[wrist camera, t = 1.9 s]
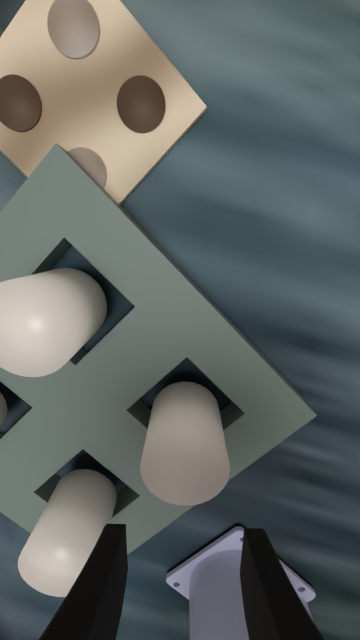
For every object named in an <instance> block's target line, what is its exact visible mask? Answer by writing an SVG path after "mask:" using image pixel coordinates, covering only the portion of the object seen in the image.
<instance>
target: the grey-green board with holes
mask: <svg viewBox="0 0 360 640" xmlns="http://www.w3.org/2000/svg"><path fill="white" fill-rule="evenodd" d="M71 245H73V246H74V247H75V248H76V249H77V250H78V251H79V252H80V253H81V254H82V255H83V256H84V257H85V258H86V259H87V260H88V261H89V262H90V263H91V264H92V265H93V266H94V267H95V268H96V269H97V270H98V271H99V272H100V273H101V274H102V275H103V276H104V277H105V278H106V279H108V280H109V281H110V282H111V283H112V284H113V285H114V286H115V287H116V288H117V289H118V290H119V291H120V292H121V293H122V294H123V295H124V296H125V297H126V298H127V299H128V300H129V301H130V302H131V303H132V304H133V305H134V307H133V308H132V309H131V310H130V311H129V312H128V313H127V314H126V315H125V316H124V317H123V318H122V319H121V320H120V321H118V322H117V323H116V324H115V325H114V326H113V327H112V328H111V329H110V330H109V331H108V332H107V333H106V334H105V335H104V336H103V337H102V338H101V339H100V340H99V341H98V342H97V343H96V344H95V345H94V346H93V347H92V348H91V349H90V350H89V351H88V352H86V351H85V350H84V349H83V348H82V347H81V348H80V349H79V351H78V352H77V353H76V354H75V355H74V356H73V357H72V358H71V359H70V360H69V361H68V362H67V363H66V364H65V365H64V366H63V367H61V368H60V369H59V370H57V371H56V372H54V373H51V374H49V375H46V376H41V377H24V376H19V375H16V374H13V373H10V372H8V371H6V370H4V369H3V368H1V367H0V381H1V382H2V383H3V384H4V385H5V386H7V387H8V388H9V389H10V390H11V391H13V392H14V393H15V394H16V395H18V396H19V397H20V398H21V399H22V400H24V401H25V402H26V403H27V404H29V405H30V406H31V408H30V409H29V410H28V411H27V412H26V413H25V414H24V415H23V416H22V417H21V418H20V419H19V420H18V421H17V422H16V423H15V424H14V425H13V426H12V427H11V428H10V429H9V430H8V431H7V432H6V433H5V434H4V435H3V434H2V433H1V432H0V512H1V513H3V514H4V515H5V516H7V517H8V518H10V519H11V520H12V521H14V522H15V523H17V524H18V525H19V526H21V527H22V528H24V529H25V530H26V531H28V532H29V533H30V534H31V533H32V531H33V529H34V527H35V526H36V524H37V522H38V520H39V518H40V516H41V514H42V512H43V510H44V509H45V507H46V505H47V503H48V501H49V499H50V497H51V495H52V493H53V492H54V490H55V488H56V486H57V484H58V482H59V480H60V478H58V477H57V476H56V475H55V473H56V472H57V471H58V470H59V469H60V468H62V467H63V466H64V465H65V464H66V463H67V462H68V461H69V460H71V459H72V458H73V457H74V456H75V455H76V454H77V453H79V452H80V451H81V450H82V449H84V450H85V451H86V452H87V453H88V454H90V455H91V456H92V457H93V458H95V459H96V460H97V461H98V462H99V463H101V464H102V465H103V466H104V467H106V468H107V469H108V470H109V471H110V472H112V473H113V474H114V475H115V476H117V477H118V478H119V479H120V480H121V481H123V482H124V483H125V484H126V485H128V486H127V487H126V488H124V489H123V490H122V491H121V492H119V493H118V494H117V500H116V504H115V508H114V511H113V515H112V519H111V523H110V524H126V539H127V555H128V554H129V553H131V552H132V551H133V550H135V549H136V548H138V547H139V546H140V545H142V544H143V543H144V542H146V541H147V540H148V539H150V538H151V537H153V536H154V535H155V534H157V533H158V532H159V531H161V530H162V529H163V528H165V527H166V526H168V525H169V524H170V523H172V522H173V521H174V520H176V519H177V518H178V517H180V516H181V515H182V514H184V513H185V512H187V511H188V510H189V509H191V508H192V507H193V506H195V505H188V506H183V505H175V504H171V503H168V502H165V501H163V500H161V499H159V498H158V497H156V496H155V495H154V494H152V493H151V492H150V491H149V489H148V488H147V487H146V485H145V484H144V482H143V480H142V477H141V473H140V463H141V458H142V453H143V449H144V444H145V439H146V434H147V429H148V425H149V420H150V415H151V409H149V408H148V407H147V406H146V405H145V404H144V403H143V402H142V401H141V400H139V399H140V398H141V397H142V396H143V395H144V394H145V393H146V392H148V391H149V390H150V389H151V388H152V387H153V386H154V385H155V384H157V383H158V382H159V381H160V380H161V379H162V378H163V377H164V376H166V375H167V374H168V373H169V372H170V371H171V370H172V369H174V368H175V367H176V366H177V365H178V364H179V363H180V362H181V361H183V360H184V359H185V358H186V357H187V358H188V359H190V360H191V361H192V362H193V363H194V364H195V365H196V366H197V367H198V368H199V369H200V370H201V371H202V372H203V373H204V374H205V375H206V376H207V377H208V378H209V379H210V380H211V381H212V382H213V383H214V384H215V385H216V386H217V387H218V388H219V389H220V390H221V391H222V392H223V393H224V394H225V395H226V396H227V397H228V398H230V399H231V400H232V402H231V403H230V404H229V405H227V406H226V407H225V408H224V409H222V410H221V411H220V416H221V422H222V427H223V432H224V438H225V443H226V448H227V453H228V459H229V464H230V474H229V478H228V481H229V480H230V479H232V478H233V477H234V476H236V475H237V474H238V473H240V472H241V471H242V470H244V469H245V468H247V467H248V466H249V465H251V464H252V463H253V462H255V461H256V460H257V459H259V458H260V457H261V456H263V455H264V454H266V453H267V452H268V451H270V450H271V449H272V448H274V447H275V446H276V445H278V444H279V443H281V442H282V441H283V440H285V439H286V438H287V437H289V436H290V435H291V434H293V433H294V432H296V431H297V430H298V429H300V428H301V427H302V426H304V425H305V424H306V423H308V422H309V421H311V420H312V419H313V418H315V417H316V416H317V415H316V413H315V412H314V411H313V409H312V408H311V407H310V405H309V404H308V403H307V401H306V400H305V399H304V397H303V396H302V395H301V394H300V393H299V392H298V391H297V390H296V389H295V388H294V387H293V386H292V385H291V384H290V383H289V382H288V381H287V380H286V378H285V377H284V376H283V375H282V374H281V373H280V372H279V371H278V370H277V369H276V368H275V367H274V366H273V365H272V364H271V363H270V362H269V361H268V360H267V359H266V357H265V356H264V355H263V354H262V353H261V352H260V351H259V350H258V349H257V348H256V347H255V346H254V345H253V344H252V343H251V342H250V341H249V340H248V339H247V338H246V337H245V335H244V334H243V333H242V332H241V331H240V330H239V329H238V328H237V327H236V326H235V325H234V324H233V323H232V322H231V321H230V320H229V319H228V318H227V317H226V316H225V315H224V313H223V312H222V311H221V310H220V309H219V308H218V307H217V306H216V305H215V304H214V303H213V302H212V301H211V300H210V299H209V298H208V297H207V296H206V295H205V294H204V293H203V291H202V290H201V289H200V288H199V287H198V286H197V285H196V284H195V283H194V282H193V281H192V280H191V279H190V278H189V277H188V276H187V275H186V274H185V273H184V272H183V270H182V269H181V268H180V267H179V266H178V265H177V264H176V263H175V262H174V261H173V260H172V259H171V258H170V257H169V256H168V255H167V254H166V253H165V252H164V251H163V250H162V248H161V247H160V246H159V245H158V244H157V243H156V242H155V241H154V240H153V239H152V238H151V237H150V236H149V235H148V234H147V233H146V232H145V231H144V230H143V229H142V228H141V226H140V225H139V224H138V223H137V222H136V221H135V220H134V219H133V218H132V217H131V216H130V215H129V214H128V213H127V212H126V211H125V210H124V209H123V208H122V207H121V206H120V205H119V204H118V203H117V202H116V201H115V200H114V199H113V198H112V197H111V196H110V195H109V194H108V193H107V192H106V191H105V190H104V189H103V188H102V187H101V186H100V185H99V184H98V183H97V182H96V181H95V180H94V179H93V178H92V176H91V175H90V174H89V173H88V172H87V171H86V170H85V169H84V168H83V167H82V166H81V165H80V164H79V163H78V162H77V161H76V160H75V159H74V158H73V157H72V156H71V154H70V153H69V152H68V151H66V150H65V149H64V148H62V147H61V146H59V145H58V144H57V143H55V145H54V146H53V147H52V148H51V150H50V151H49V152H48V153H47V155H46V156H45V157H44V158H43V160H42V161H41V162H40V163H39V165H38V166H37V167H36V168H35V170H34V171H33V172H32V173H31V175H30V176H29V177H28V178H27V180H26V181H25V182H24V183H23V185H22V186H21V187H20V188H19V190H18V191H17V192H16V193H15V195H14V196H13V197H12V198H11V200H10V201H9V202H8V203H7V205H6V206H5V207H4V208H3V210H2V211H1V212H0V282H3V281H6V280H11V279H15V278H19V277H24V276H28V275H33V274H37V273H42V272H46V271H49V270H50V269H51V268H52V266H53V265H54V264H55V263H56V262H57V261H58V260H59V259H60V258H61V256H62V255H63V254H64V253H65V252H66V251H67V250H68V249H69V247H70V246H71Z"/></svg>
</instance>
